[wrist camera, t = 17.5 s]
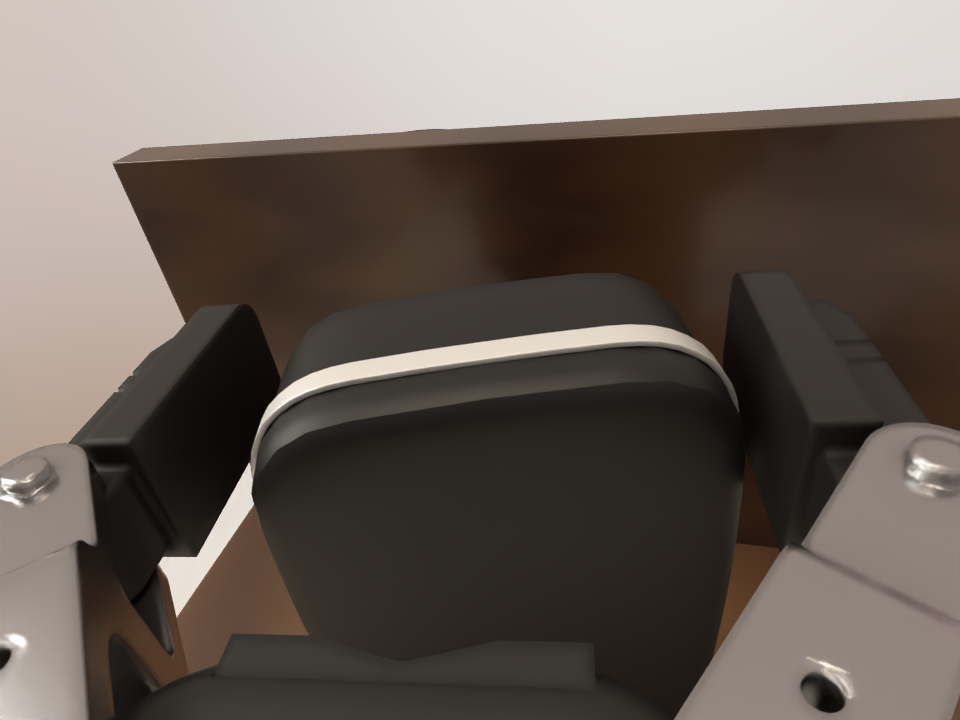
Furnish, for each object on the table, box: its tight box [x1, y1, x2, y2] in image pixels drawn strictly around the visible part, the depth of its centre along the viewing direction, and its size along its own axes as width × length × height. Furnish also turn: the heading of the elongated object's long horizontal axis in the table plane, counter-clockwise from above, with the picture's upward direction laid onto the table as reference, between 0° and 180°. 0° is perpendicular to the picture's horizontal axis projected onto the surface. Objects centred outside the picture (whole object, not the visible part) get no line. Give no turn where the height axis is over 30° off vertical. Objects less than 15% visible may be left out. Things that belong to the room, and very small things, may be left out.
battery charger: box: [251, 273, 746, 714], centre depth 12 cm, size 7×4×11 cm, turn 94°
